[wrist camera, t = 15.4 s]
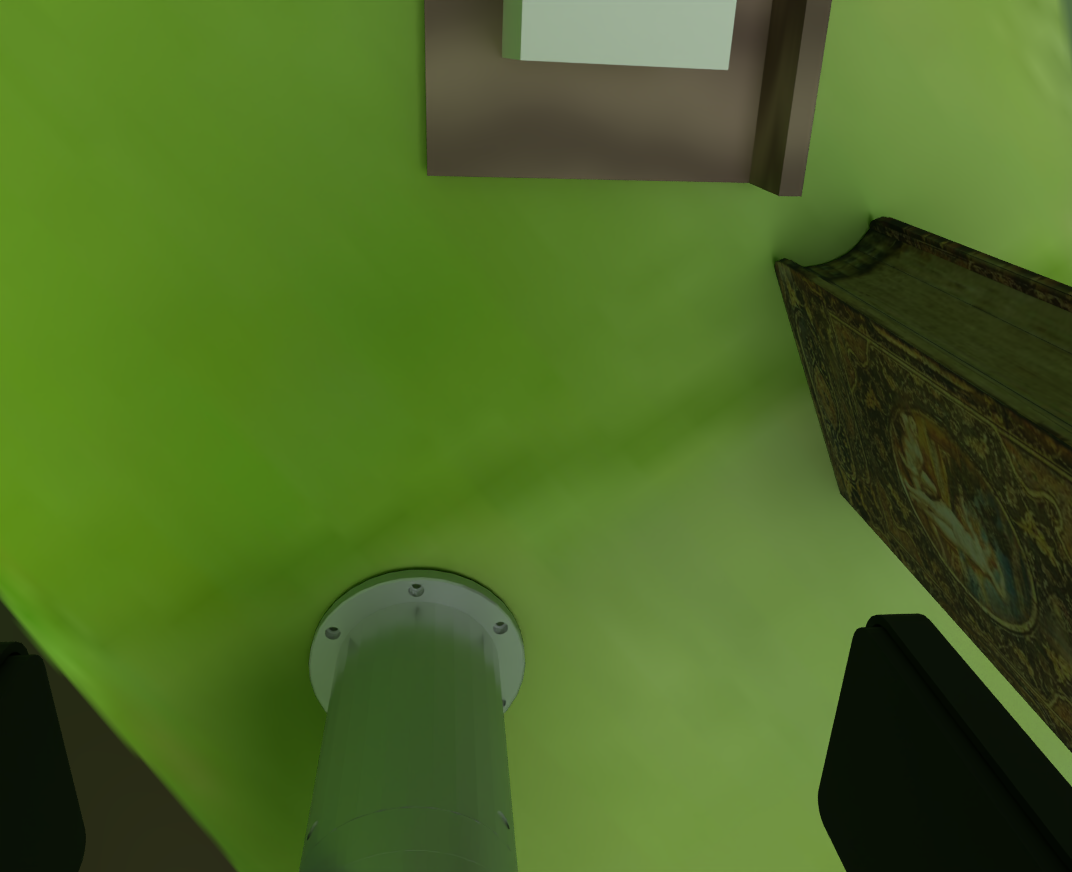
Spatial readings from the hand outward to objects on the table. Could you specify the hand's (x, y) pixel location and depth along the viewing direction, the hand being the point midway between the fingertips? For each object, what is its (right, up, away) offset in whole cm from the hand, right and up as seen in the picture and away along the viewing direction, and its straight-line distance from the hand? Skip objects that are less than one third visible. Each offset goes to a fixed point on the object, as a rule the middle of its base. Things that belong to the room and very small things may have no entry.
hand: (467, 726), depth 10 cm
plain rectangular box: (+3, +22, +27) cm, 35 cm away
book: (+18, +7, +37) cm, 42 cm away
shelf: (+4, +22, +28) cm, 36 cm away
